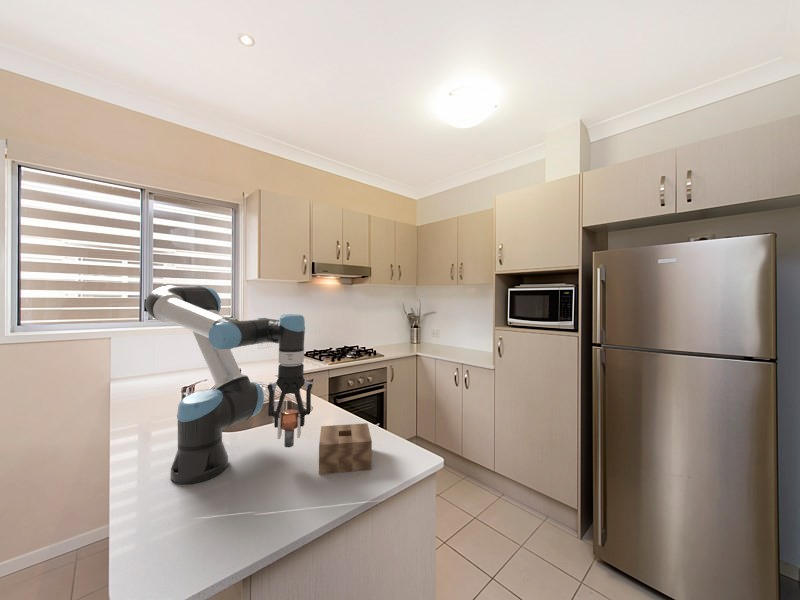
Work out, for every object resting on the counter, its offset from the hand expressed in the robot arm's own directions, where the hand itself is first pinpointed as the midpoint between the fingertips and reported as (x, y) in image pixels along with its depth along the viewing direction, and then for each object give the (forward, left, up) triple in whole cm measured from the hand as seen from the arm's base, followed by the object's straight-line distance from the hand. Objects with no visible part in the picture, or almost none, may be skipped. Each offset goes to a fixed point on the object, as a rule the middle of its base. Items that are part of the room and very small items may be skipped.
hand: (289, 436), depth 102 cm
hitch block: (+18, +1, -9) cm, 20 cm away
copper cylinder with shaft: (0, 0, -3) cm, 3 cm away
